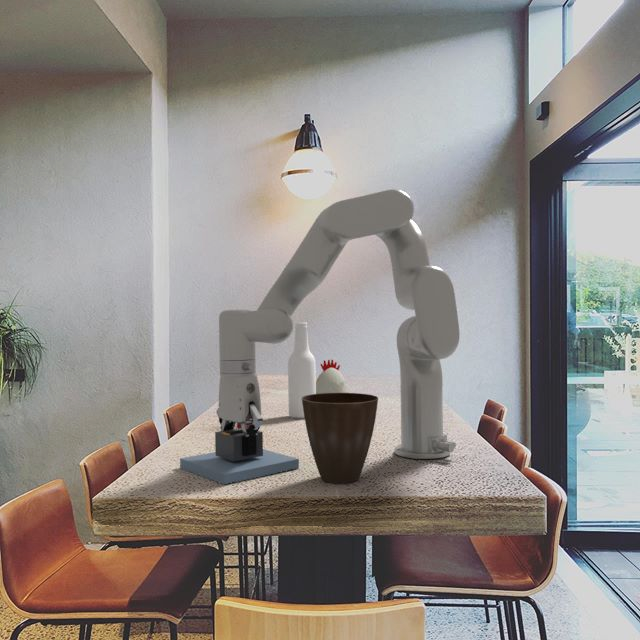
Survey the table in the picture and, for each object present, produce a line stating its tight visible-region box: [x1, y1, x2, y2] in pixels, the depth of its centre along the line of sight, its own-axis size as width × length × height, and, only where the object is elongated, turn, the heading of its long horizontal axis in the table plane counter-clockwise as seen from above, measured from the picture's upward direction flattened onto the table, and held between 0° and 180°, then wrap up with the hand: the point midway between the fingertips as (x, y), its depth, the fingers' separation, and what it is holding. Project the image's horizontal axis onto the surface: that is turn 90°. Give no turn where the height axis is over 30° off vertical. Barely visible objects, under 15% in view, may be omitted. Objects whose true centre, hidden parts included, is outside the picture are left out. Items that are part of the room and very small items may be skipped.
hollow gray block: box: [214, 428, 264, 461], centre depth 128 cm, size 7×7×5 cm
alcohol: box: [287, 321, 317, 420], centre depth 193 cm, size 9×9×30 cm
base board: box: [179, 448, 300, 485], centre depth 128 cm, size 18×18×2 cm
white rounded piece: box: [316, 359, 350, 394], centre depth 237 cm, size 14×14×15 cm
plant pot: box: [302, 392, 379, 484], centre depth 119 cm, size 15×15×16 cm
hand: (239, 451), depth 128 cm, fingers closed on hollow gray block, 7 cm apart
